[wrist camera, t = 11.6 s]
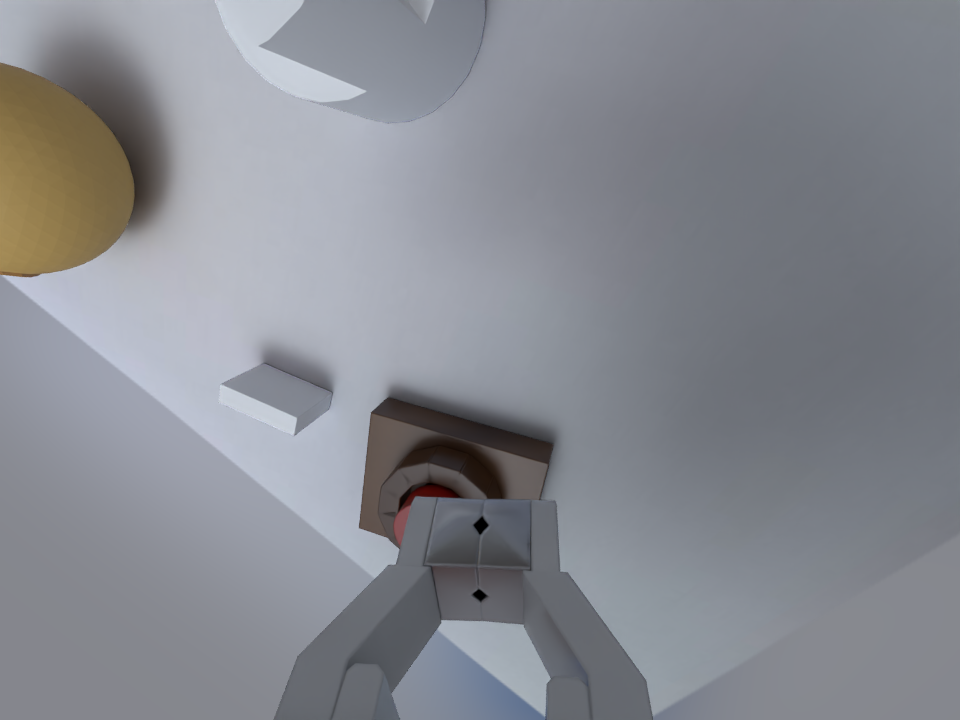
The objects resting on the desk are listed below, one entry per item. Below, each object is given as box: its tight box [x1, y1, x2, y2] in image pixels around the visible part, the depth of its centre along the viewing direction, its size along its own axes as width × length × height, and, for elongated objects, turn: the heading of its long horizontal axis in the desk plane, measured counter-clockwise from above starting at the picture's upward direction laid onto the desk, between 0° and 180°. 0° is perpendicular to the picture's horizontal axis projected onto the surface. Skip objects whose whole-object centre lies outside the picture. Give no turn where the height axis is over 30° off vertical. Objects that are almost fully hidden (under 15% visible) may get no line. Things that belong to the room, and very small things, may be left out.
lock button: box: [393, 485, 460, 546], centre depth 25 cm, size 4×4×2 cm
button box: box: [359, 398, 554, 549], centre depth 28 cm, size 10×8×4 cm
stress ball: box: [0, 63, 135, 277], centre depth 24 cm, size 10×10×10 cm
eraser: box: [218, 363, 332, 436], centre depth 29 cm, size 1×5×4 cm, turn 70°
